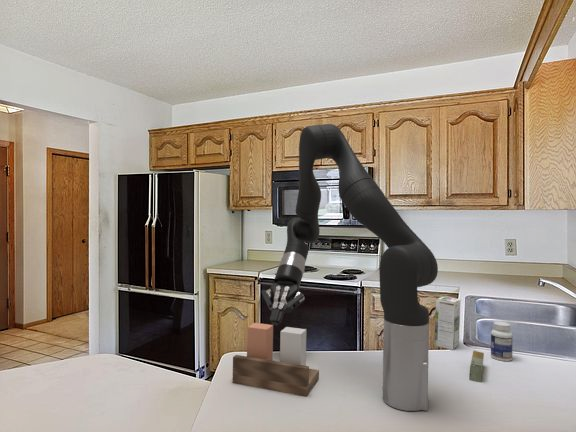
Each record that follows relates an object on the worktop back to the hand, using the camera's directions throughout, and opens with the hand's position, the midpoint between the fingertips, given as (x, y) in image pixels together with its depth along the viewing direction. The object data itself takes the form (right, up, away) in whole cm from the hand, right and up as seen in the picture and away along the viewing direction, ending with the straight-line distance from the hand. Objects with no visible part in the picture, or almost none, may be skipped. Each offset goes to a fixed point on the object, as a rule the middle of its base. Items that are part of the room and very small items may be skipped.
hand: (274, 323), depth 102 cm
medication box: (+52, -12, -4) cm, 53 cm away
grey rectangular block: (+5, -8, -12) cm, 15 cm away
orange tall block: (-3, -8, -9) cm, 12 cm away
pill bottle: (+64, -12, +7) cm, 65 cm away
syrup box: (+52, -12, +16) cm, 56 cm away
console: (+1, -10, -11) cm, 15 cm away
